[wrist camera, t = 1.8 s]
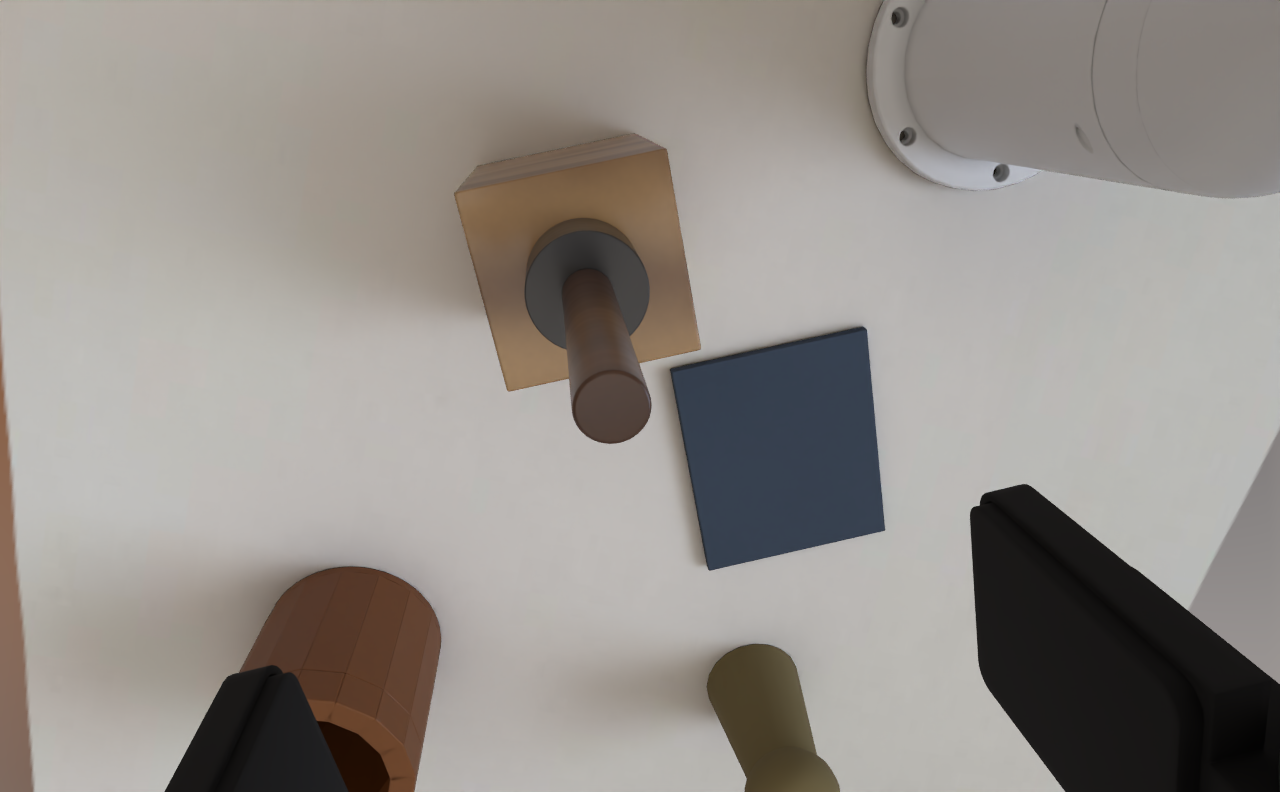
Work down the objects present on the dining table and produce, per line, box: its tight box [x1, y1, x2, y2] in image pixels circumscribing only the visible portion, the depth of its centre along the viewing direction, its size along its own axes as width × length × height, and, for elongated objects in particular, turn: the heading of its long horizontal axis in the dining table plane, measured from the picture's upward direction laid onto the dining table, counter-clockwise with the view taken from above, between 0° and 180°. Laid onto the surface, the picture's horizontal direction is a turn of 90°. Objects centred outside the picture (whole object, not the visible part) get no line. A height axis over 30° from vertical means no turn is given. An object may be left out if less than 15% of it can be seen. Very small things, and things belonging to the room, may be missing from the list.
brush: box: [524, 218, 651, 444], centre depth 25 cm, size 4×4×14 cm
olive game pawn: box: [707, 644, 840, 792], centre depth 48 cm, size 6×6×11 cm
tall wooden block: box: [454, 133, 701, 391], centre depth 36 cm, size 8×8×11 cm
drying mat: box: [670, 327, 885, 570], centre depth 47 cm, size 13×11×1 cm
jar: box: [239, 567, 441, 792], centre depth 43 cm, size 10×10×11 cm
